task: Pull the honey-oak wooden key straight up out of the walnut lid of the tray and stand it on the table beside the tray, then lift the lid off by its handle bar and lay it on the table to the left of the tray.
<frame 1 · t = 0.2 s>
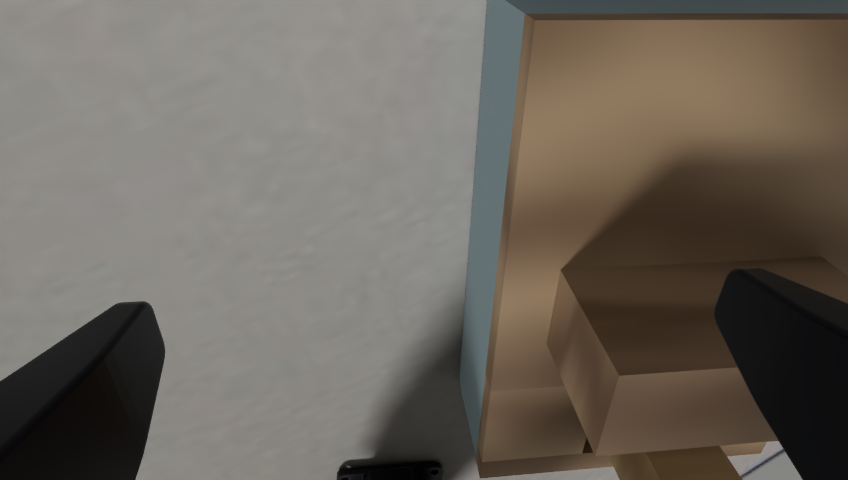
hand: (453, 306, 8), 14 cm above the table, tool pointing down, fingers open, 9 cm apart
tray: (616, 221, 25), on the table
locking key: (598, 338, 28), point 1 cm above the table, touching tray
lid: (668, 285, 21), point 5 cm above the table, touching tray
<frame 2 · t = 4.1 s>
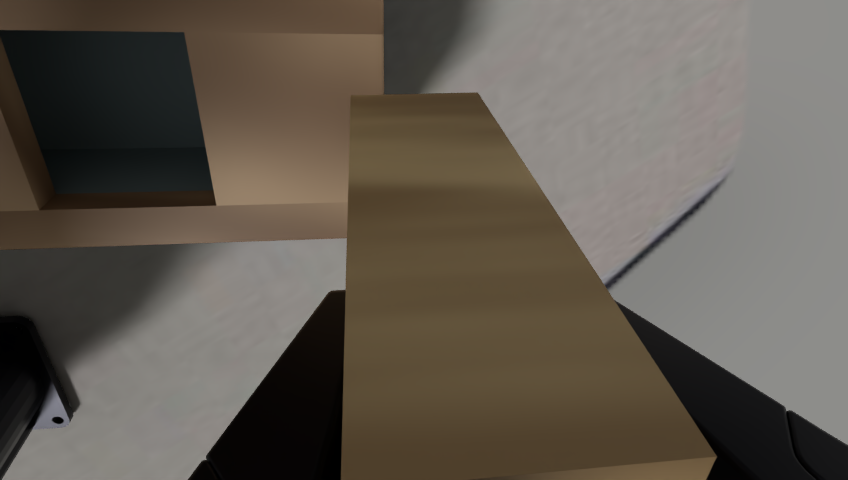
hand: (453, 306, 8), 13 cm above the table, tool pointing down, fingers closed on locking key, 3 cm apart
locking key: (414, 153, 13), point 7 cm above the table, touching gripper
when the fingers open (8 cm above the table, at t = 5.8 s): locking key drops 2 cm, on the table.
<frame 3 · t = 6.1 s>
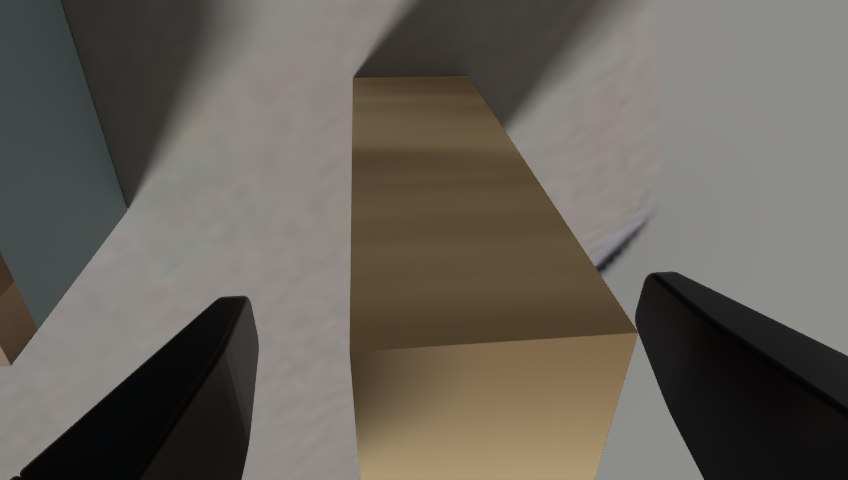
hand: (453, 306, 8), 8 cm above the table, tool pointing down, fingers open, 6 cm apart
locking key: (411, 131, 15), on the table
when the fingers open (4 cm above the table, at t = 14.1 s): lid drops 2 cm, on the table.
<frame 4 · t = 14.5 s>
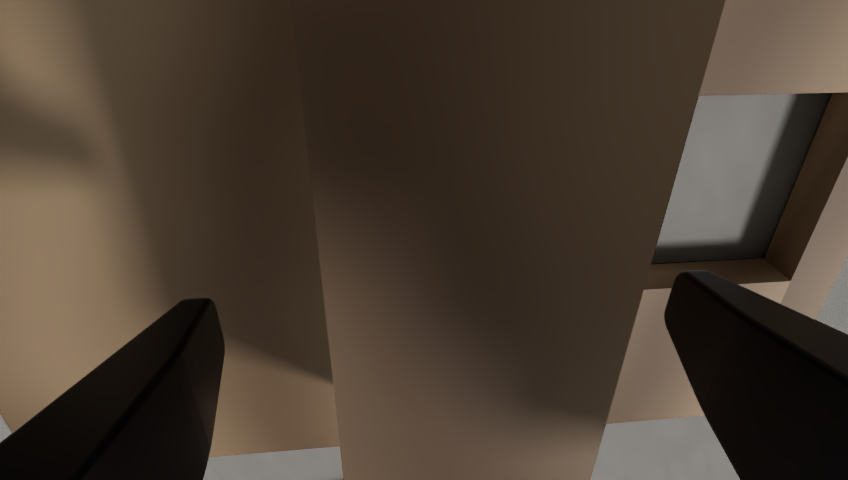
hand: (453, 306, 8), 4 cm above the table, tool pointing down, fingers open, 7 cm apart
lid: (425, 191, 12), on the table
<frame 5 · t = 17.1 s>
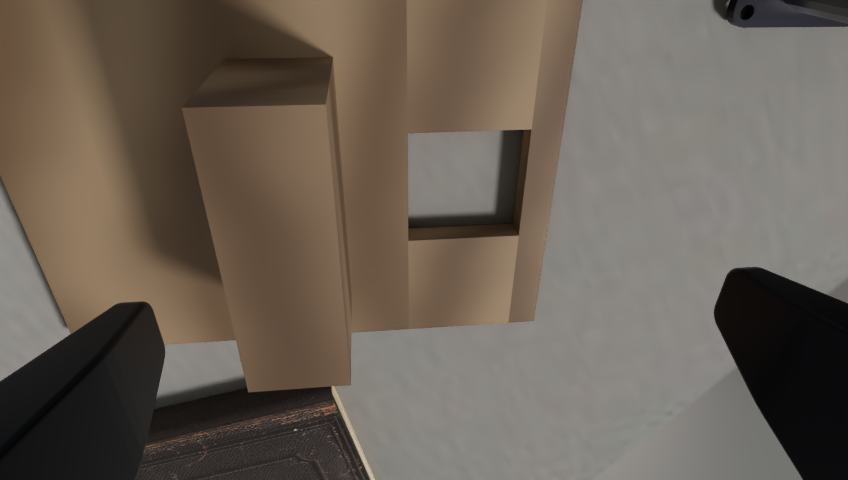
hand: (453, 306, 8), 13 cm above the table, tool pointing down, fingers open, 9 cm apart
lid: (299, 182, 21), on the table
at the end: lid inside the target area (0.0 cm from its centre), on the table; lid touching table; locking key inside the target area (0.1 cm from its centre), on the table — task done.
